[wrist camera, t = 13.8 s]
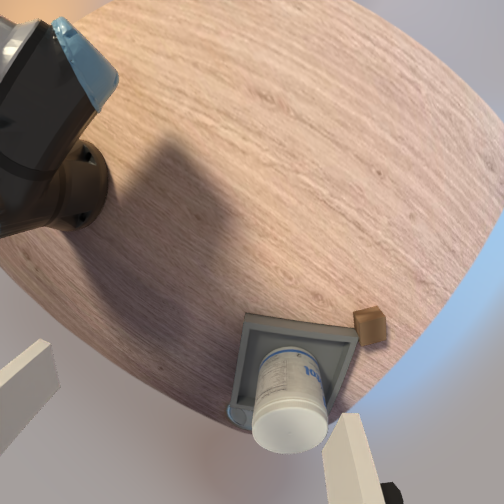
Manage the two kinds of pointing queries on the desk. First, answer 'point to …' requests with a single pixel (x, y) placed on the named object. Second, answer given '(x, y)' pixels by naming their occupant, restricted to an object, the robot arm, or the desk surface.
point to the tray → (296, 335)
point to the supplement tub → (289, 402)
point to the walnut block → (370, 325)
